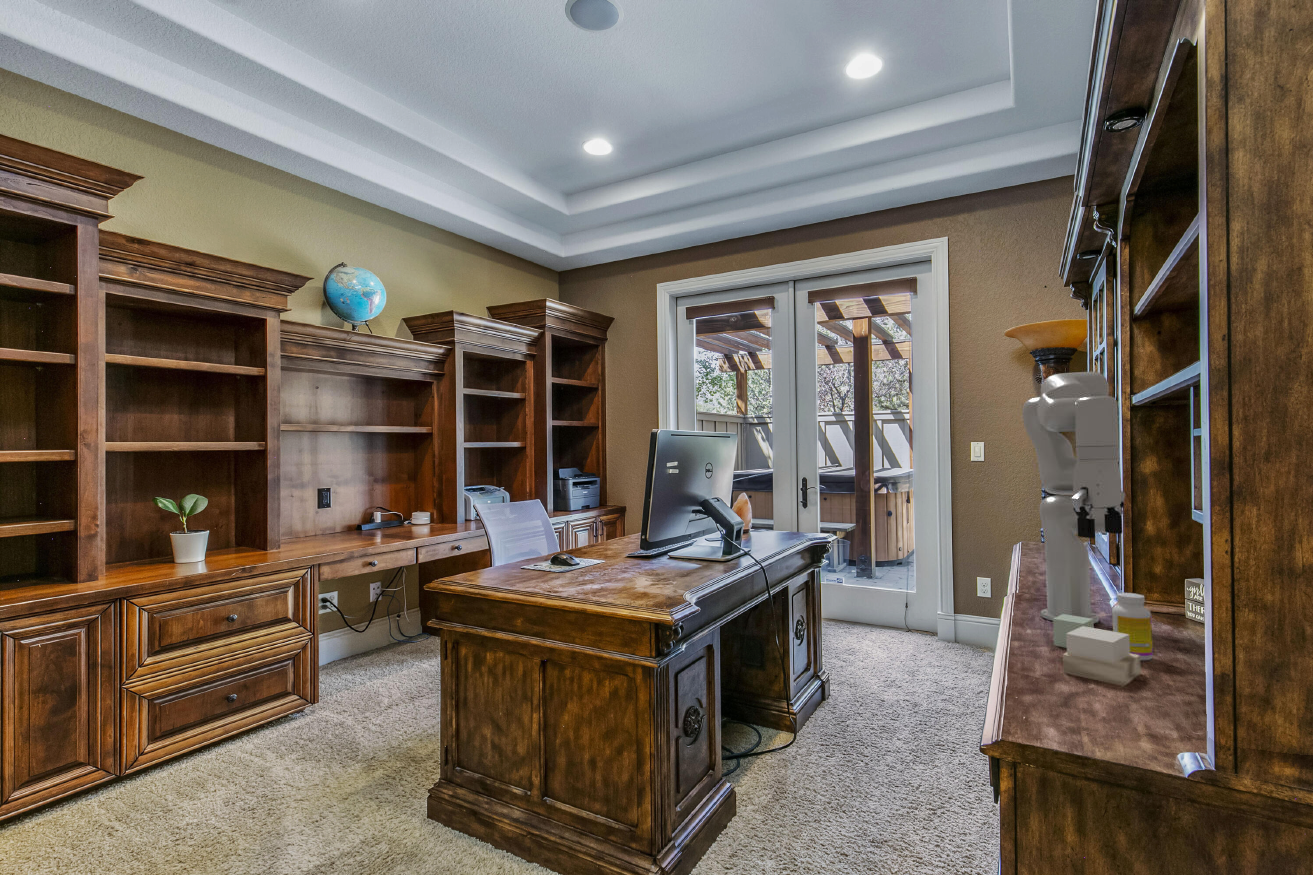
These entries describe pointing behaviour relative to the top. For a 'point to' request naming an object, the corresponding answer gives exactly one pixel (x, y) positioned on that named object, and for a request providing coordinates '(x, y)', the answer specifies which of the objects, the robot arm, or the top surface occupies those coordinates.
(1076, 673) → the tower base block
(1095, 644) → the tower top block
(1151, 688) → the top surface
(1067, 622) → the stack block
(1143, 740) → the top surface
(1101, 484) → the robot arm
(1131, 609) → the supplement bottle
